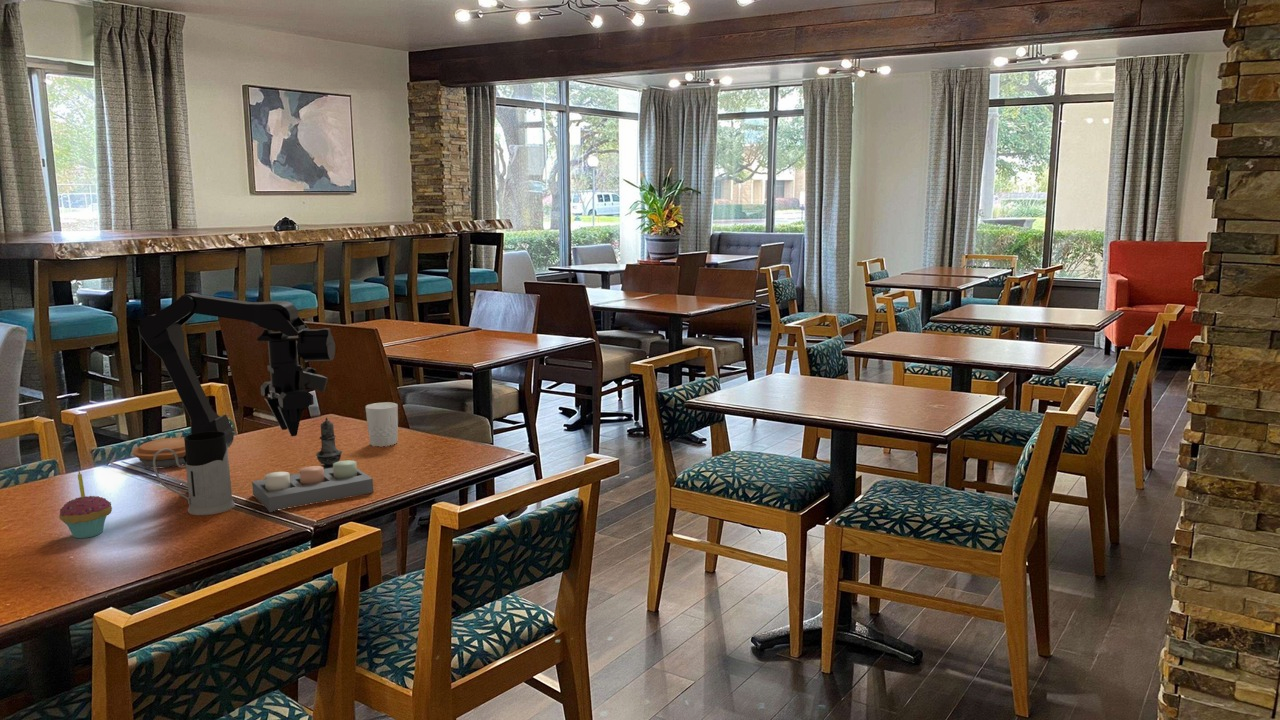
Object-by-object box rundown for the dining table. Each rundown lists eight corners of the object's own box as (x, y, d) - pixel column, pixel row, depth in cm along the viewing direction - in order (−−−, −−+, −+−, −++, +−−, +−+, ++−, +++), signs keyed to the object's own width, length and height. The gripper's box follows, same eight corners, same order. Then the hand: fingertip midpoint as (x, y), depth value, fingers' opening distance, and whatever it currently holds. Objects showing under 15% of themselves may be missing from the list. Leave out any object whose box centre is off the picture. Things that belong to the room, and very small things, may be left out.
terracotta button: (304, 489, 192) (303, 473, 191) (297, 484, 195) (296, 468, 195) (327, 485, 194) (326, 469, 194) (320, 480, 198) (319, 464, 198)
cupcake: (56, 534, 173) (49, 472, 171) (107, 523, 179) (100, 462, 177) (69, 545, 167) (61, 481, 165) (120, 533, 173) (113, 471, 171)
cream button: (269, 495, 188) (267, 479, 187) (263, 490, 191) (261, 474, 191) (293, 491, 190) (292, 475, 190) (287, 486, 194) (285, 470, 194)
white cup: (406, 442, 238) (404, 404, 236) (382, 449, 231) (380, 410, 229) (384, 438, 242) (382, 401, 240) (361, 445, 235) (358, 406, 233)
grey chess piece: (347, 464, 217) (344, 414, 215) (336, 471, 212) (333, 420, 210) (323, 464, 218) (319, 414, 216) (312, 471, 212) (308, 420, 210)
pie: (191, 450, 233) (189, 430, 232) (216, 461, 223) (214, 441, 222) (124, 462, 222) (122, 442, 222) (147, 474, 212) (145, 453, 211)
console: (270, 512, 184) (268, 497, 183) (253, 495, 195) (251, 481, 194) (373, 492, 196) (372, 478, 195) (351, 477, 207) (351, 464, 206)
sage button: (338, 483, 196) (337, 467, 195) (331, 478, 199) (330, 462, 199) (360, 479, 198) (359, 463, 198) (353, 474, 202) (352, 459, 202)
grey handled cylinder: (241, 508, 186) (235, 435, 184) (165, 524, 177) (157, 448, 175) (226, 498, 193) (220, 428, 190) (152, 513, 184) (144, 440, 181)
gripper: (335, 362, 193) (340, 435, 196) (309, 352, 208) (314, 419, 211) (280, 368, 187) (286, 443, 189) (257, 357, 202) (263, 426, 204)
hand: (289, 432), depth 199 cm, fingers open, 7 cm apart
